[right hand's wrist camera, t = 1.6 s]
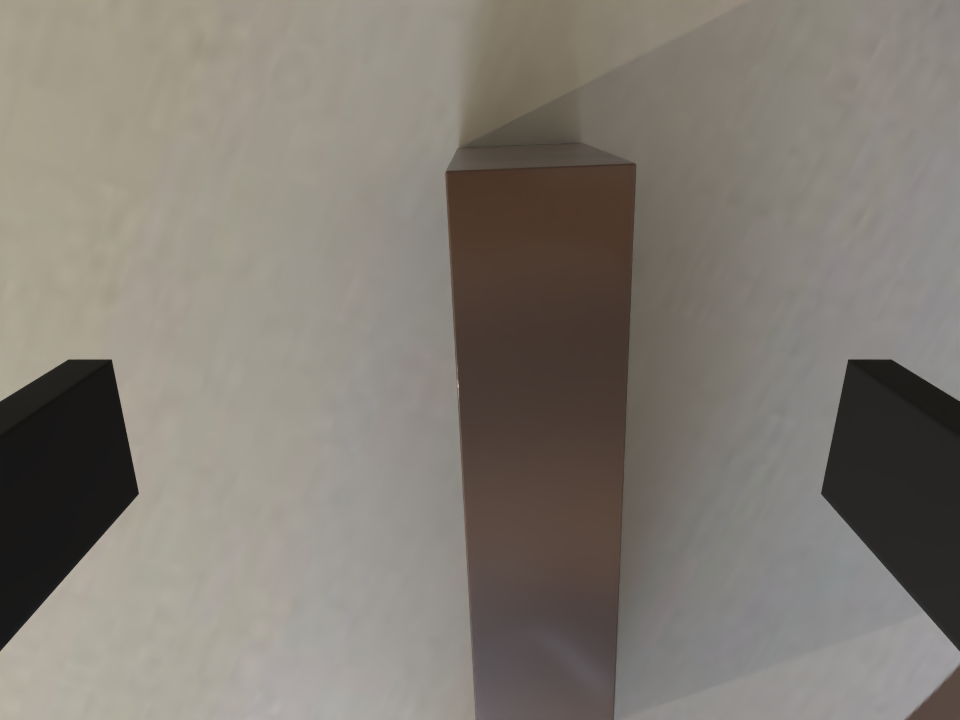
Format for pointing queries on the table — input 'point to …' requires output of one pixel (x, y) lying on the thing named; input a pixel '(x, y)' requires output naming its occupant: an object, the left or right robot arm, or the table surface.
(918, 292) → the table surface
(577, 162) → the walnut box
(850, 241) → the table surface
